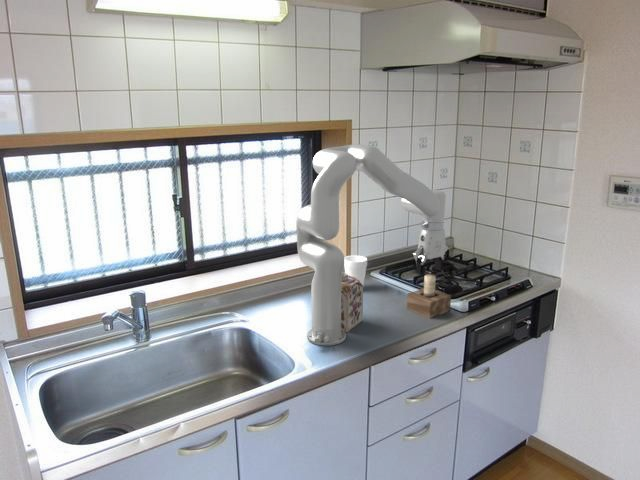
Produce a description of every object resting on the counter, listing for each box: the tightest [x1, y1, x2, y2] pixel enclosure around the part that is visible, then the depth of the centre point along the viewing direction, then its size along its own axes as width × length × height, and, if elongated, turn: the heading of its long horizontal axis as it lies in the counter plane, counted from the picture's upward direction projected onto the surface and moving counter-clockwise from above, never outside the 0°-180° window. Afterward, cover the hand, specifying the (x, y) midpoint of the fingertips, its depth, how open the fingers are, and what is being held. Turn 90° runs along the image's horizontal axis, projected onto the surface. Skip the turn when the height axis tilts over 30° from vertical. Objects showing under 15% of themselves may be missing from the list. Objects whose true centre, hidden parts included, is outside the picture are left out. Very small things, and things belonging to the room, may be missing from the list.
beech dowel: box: [423, 274, 437, 298], centre depth 189 cm, size 4×4×12 cm
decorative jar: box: [341, 271, 364, 333], centre depth 177 cm, size 12×12×18 cm
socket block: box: [406, 288, 452, 319], centre depth 190 cm, size 11×11×6 cm
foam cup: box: [344, 254, 368, 287], centre depth 210 cm, size 10×9×13 cm
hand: (429, 272), depth 186 cm, fingers open, 9 cm apart
